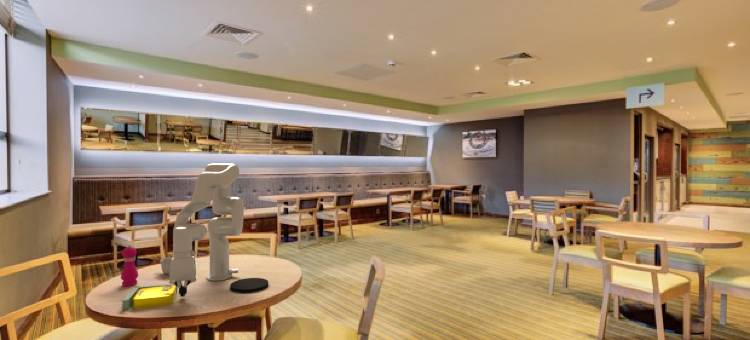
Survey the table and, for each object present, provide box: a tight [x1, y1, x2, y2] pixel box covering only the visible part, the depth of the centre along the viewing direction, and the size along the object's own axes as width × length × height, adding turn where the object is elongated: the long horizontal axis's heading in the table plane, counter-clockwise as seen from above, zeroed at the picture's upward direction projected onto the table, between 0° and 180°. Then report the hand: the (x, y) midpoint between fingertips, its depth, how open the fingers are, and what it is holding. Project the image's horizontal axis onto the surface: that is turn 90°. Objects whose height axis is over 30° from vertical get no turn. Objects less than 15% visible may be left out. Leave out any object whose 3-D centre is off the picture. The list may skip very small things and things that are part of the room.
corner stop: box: [121, 283, 179, 311], centre depth 166 cm, size 17×18×4 cm
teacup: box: [159, 256, 173, 276], centre depth 207 cm, size 14×11×8 cm
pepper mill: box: [120, 244, 139, 288], centre depth 186 cm, size 7×7×20 cm
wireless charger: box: [229, 277, 269, 294], centre depth 185 cm, size 18×18×2 cm
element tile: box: [132, 285, 177, 310], centre depth 165 cm, size 15×15×5 cm
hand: (182, 295), depth 168 cm, fingers closed
